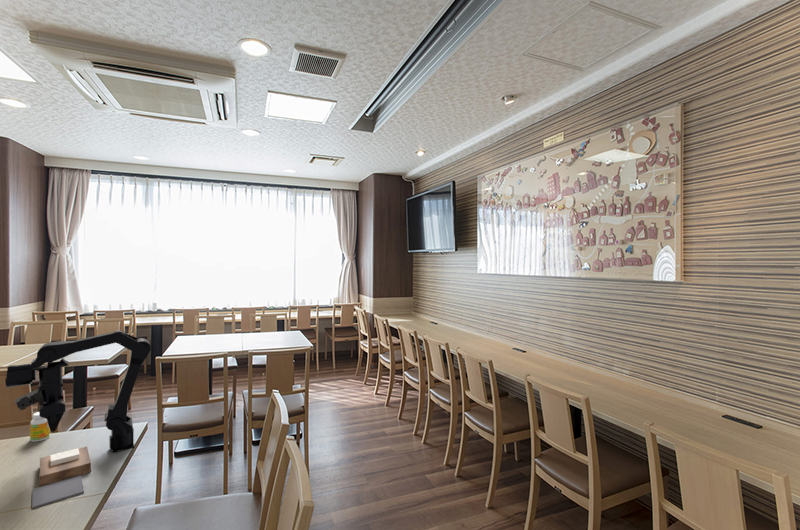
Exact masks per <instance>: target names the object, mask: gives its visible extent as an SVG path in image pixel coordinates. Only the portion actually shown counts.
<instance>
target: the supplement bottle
mask: <svg viewBox="0 0 800 530" xmlns="http://www.w3.org/2000/svg"><path fill="white" fill-rule="evenodd" d="M29 424H30V425H29V428H30V433H29V436H30V437H29V441H30V442H31V443H32V442H34V443H35V442H41V441H44V440H47V439H48V438H49V437H50V435H51V431H50V428H49V425H48V422H47V419H46V418H43V417H40V415H39V411H36V412H35V413H33V415H32V420H30V423H29ZM49 434H50V435H49Z"/></svg>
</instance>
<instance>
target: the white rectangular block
mask: <svg viewBox="0 0 800 530" xmlns="http://www.w3.org/2000/svg"><path fill="white" fill-rule="evenodd" d="M79 448H80V447H79ZM79 448H78V447H77V448H73V449H70V450H65V451H62V452H58V453H53V454H50V455H49V456H50V462H51V466H53V465H57V464H60V463H64V462H68V461H72V460H76V459H79V457H80V454H79Z"/></svg>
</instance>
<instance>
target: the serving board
mask: <svg viewBox="0 0 800 530" xmlns="http://www.w3.org/2000/svg"><path fill="white" fill-rule="evenodd" d="M79 454H80V457H79V459H76V460H72V461H68V462H64V463H60V464H57V465H53V466H51V462H50V455H47V456H43V457H39V487H41V486H45V485H48V484H52V483H55V482H59V481H62V480H66V479H69V478H73V477H76V476H80V475H81V476H82V475H85V474H88V473H91V472H92V463H91V457H90V454H89V449H88V446H84V447H79Z"/></svg>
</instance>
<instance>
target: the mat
mask: <svg viewBox="0 0 800 530" xmlns="http://www.w3.org/2000/svg"><path fill="white" fill-rule="evenodd" d="M31 494H32V499H31V501H32V502H31V509H32V510H33V509H36V508H40V507H43V506H46V505H51V504H53V503H56V502H59V501H62V500H66V499H68V498H69V499H70V498H73V497H75V496H78V495H79V496H80V495H81V494H85V491H84V483H83V480H82V474H81V475H78V476H74V477H71V478H67V479H64V480H60V481H57V482H53V483H50V484H46V485H43V486H39V487H36V488H32V493H31Z"/></svg>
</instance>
